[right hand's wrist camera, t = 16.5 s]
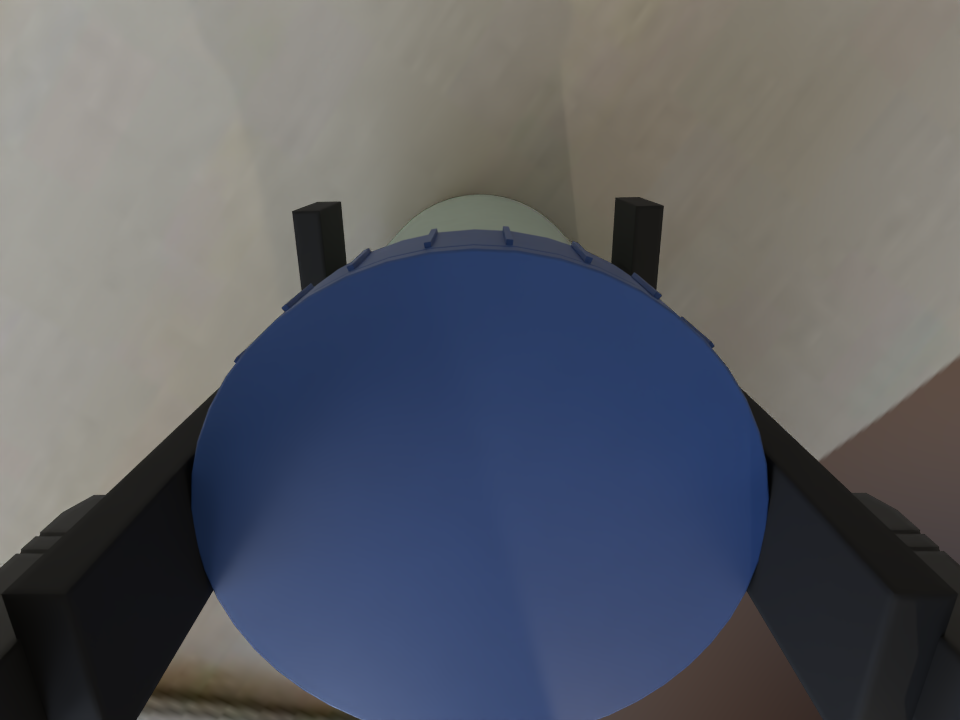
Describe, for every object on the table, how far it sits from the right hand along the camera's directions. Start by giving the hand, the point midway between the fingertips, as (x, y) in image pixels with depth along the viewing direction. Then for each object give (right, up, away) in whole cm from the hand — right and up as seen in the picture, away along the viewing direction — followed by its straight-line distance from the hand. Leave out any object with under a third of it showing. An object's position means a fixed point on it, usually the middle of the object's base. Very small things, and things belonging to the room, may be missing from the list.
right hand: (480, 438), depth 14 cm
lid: (0, -1, -3) cm, 3 cm away
